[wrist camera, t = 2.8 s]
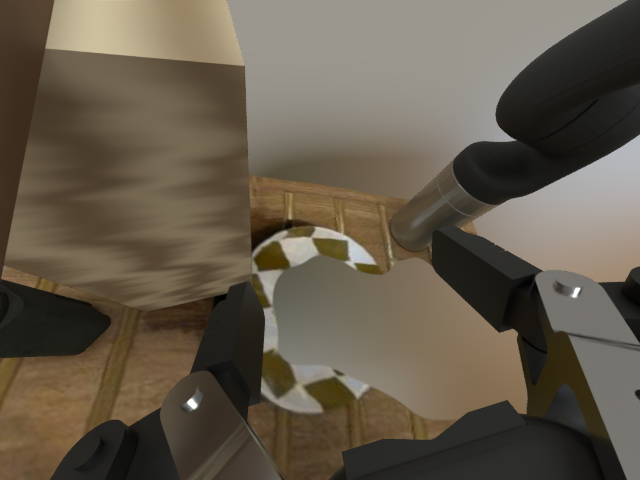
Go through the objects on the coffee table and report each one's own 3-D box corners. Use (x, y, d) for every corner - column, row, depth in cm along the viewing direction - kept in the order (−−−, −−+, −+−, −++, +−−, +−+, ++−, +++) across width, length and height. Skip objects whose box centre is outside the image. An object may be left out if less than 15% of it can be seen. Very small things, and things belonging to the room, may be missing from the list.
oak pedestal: (237, 210, 40) (198, -99, 12) (252, 287, 36) (244, 65, 8) (143, 222, 36) (-267, -242, 8) (146, 312, 31) (-915, -37, 3)
